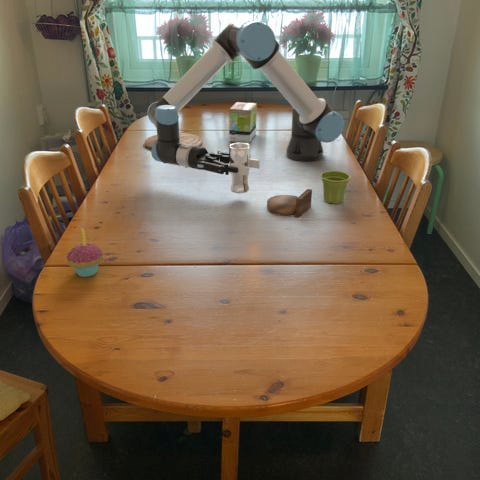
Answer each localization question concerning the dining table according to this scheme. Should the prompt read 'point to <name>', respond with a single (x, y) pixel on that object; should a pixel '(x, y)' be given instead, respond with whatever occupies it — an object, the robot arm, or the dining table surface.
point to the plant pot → (334, 186)
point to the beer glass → (239, 156)
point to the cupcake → (85, 258)
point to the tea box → (242, 122)
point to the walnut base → (290, 204)
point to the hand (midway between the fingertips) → (253, 167)
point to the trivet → (184, 139)
